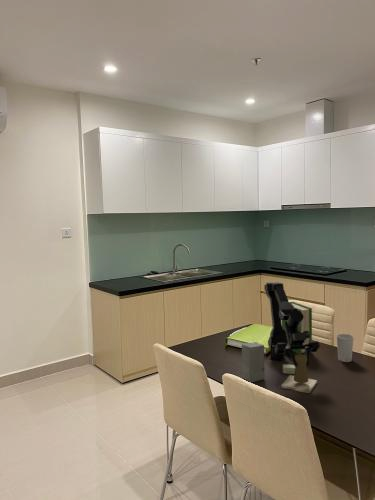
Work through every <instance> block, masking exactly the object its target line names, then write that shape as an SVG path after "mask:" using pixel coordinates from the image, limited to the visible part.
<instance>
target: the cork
mask: <svg viewBox="0 0 375 500" xmlns="http://www.w3.org/2000/svg"><path fill="white" fill-rule="evenodd" d="M294 358H295V361H296V365H297V366H296V367H295V373H294V374H293V376H294V381H296V382H298V383H306V382H308V379H309V378H308V377H309V375H308V371H307V370H308V368H307V364H306V362H307V357H306V356H305V355H304V354H303V353H301V354H297V353H296V354H295V355H294Z"/></svg>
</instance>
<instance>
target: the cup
mask: <svg viewBox="0 0 375 500" xmlns="http://www.w3.org/2000/svg"><path fill="white" fill-rule="evenodd" d="M354 338H355V337H354V335H352V334H347V333H339V334H338V333H337V334H336V345H337V347H336V348H337V360H338V361H340V362H343V363H350V362H352V360H353V358H352V357H353V349H354V348H353V347H354Z"/></svg>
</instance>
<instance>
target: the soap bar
mask: <svg viewBox="0 0 375 500" xmlns="http://www.w3.org/2000/svg"><path fill="white" fill-rule="evenodd" d="M282 373H283V374H288V375H294V373H295V366H294V365H293V364H288V363H287V364H282Z"/></svg>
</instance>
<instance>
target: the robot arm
mask: <svg viewBox="0 0 375 500" xmlns="http://www.w3.org/2000/svg"><path fill="white" fill-rule="evenodd" d="M264 291H265V294H266V297H267V298H268V299H269V305H270V314H271V322H272V323H271V324H272V329H271V331H270V333H269V338H268V340H267V345H268V347H269V349H270V357H269V360H272V361H278V362H282V361H283V360H285V358H287V359H288V360H289V361H290V362H291V365H294V366H295V367H296V366H297V365H296V361H295V354H294V351H293V350H298V349H304V352H303V353H302V354H303V355H305V356H306V357H307V362H306V367H309V365H310V355H311V354H312V353H317V352H318V350H319V349H320V347H321V345H320V342H319V341H318V340H312V341H309V343H308V344H305V345H303V343H304V342H305V341H304V340H306V338H310V334H309V331H303V333H301V332H299V329H298V327H299V326H300V324H301V322H302V320H303V314H302V313H301V312H300V311H297V308H294V306H293V305H292V304H290V303H289V302H290V301H289V298H288V296H287V294H286V291H285V288H284V283H282V282H280V281H271V282H266V284H264ZM282 320H287V321H286V322H285V324H284V328H285V330H286V331H285V330H284V329H283V328H282ZM286 334H287V336H286ZM288 341H289V345H287V343H288ZM311 352H312V353H311Z"/></svg>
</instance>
